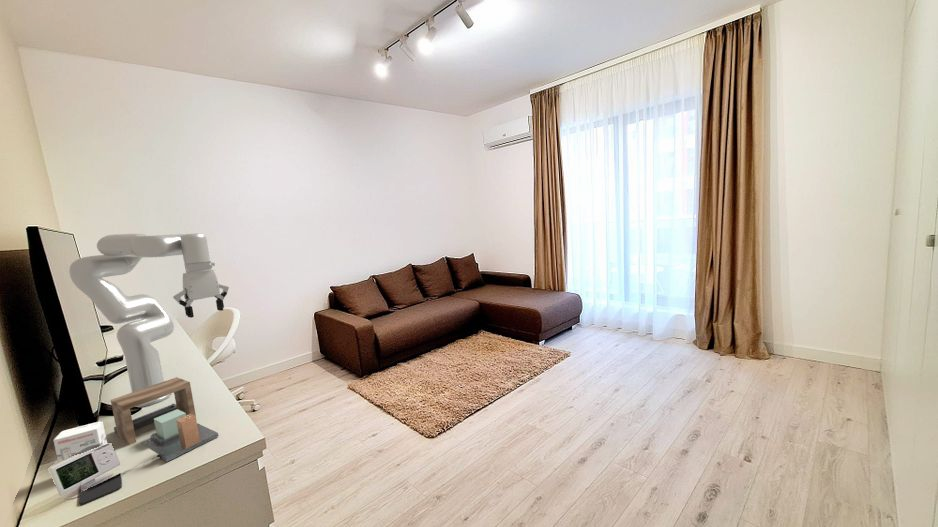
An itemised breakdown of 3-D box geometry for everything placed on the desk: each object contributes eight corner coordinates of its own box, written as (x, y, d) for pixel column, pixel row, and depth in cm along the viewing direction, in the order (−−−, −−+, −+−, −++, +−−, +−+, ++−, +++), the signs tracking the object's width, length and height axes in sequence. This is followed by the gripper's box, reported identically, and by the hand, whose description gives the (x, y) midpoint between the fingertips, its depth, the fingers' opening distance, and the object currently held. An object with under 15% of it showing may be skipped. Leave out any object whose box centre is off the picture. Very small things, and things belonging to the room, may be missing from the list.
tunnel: (118, 440, 112) (110, 399, 111) (183, 413, 127) (176, 377, 125) (130, 448, 107) (122, 406, 105) (196, 419, 121) (189, 381, 120)
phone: (119, 462, 100) (122, 486, 90) (120, 465, 100) (122, 489, 90) (81, 477, 95) (78, 505, 84) (81, 480, 95) (79, 508, 84)
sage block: (157, 437, 110) (153, 418, 109) (180, 426, 115) (177, 409, 114) (165, 441, 107) (161, 423, 106) (189, 431, 112) (185, 413, 111)
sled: (141, 445, 108) (135, 417, 107) (191, 423, 119) (187, 397, 118) (166, 462, 99) (160, 431, 98) (218, 436, 110) (213, 408, 109)
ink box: (60, 482, 94) (50, 440, 93) (68, 472, 98) (59, 431, 97) (105, 468, 99) (97, 427, 97) (111, 459, 103) (103, 420, 101)
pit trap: (115, 435, 115) (113, 427, 115) (175, 411, 129) (174, 403, 128) (120, 439, 113) (118, 430, 112) (181, 414, 126) (179, 406, 126)
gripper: (219, 264, 139) (226, 307, 141) (164, 271, 125) (173, 319, 127) (229, 264, 135) (236, 308, 137) (174, 271, 121) (182, 320, 123)
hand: (206, 313), depth 132 cm, fingers open, 9 cm apart
